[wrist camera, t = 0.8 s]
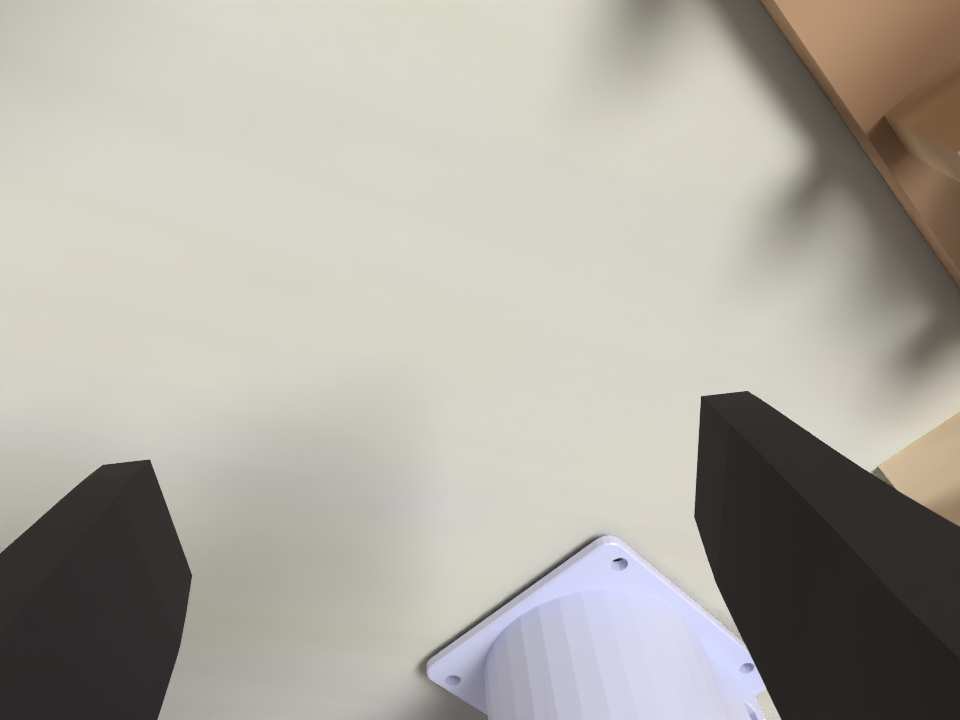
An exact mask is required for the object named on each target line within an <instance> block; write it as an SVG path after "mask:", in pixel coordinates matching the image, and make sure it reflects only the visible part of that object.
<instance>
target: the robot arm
mask: <svg viewBox="0 0 960 720" xmlns="http://www.w3.org/2000/svg"><path fill="white" fill-rule="evenodd" d="M694 517H695V520H696V523H697V527H698V530H699V533H700V536H701V539H702V542H703V545H704V549H705V552H706V555H707V558H708V561H709V564H710V566H711V569H712V572H713V575H714V578H715V581H716V584H717V586H718V588H719V590H720V592H721V595H722V597H723V599H724V601H725V603H726V605H727V607H728V610H729V612H730V614H731V616H732V618H733V620H734V622H735V624H736V626H737V628H738V631H739V633H740V635H741V637H742V639H743V641H744V642H742V641H741V640H740V639H739V638H738V637H736V636H735V635H734V634H733V633H732V632H730V631H729V630H728V629H727V628H726V627H724V626H723V625H722V624H721V623H720V622H718V621H717V620H716V619H715V618H714V617H712V616H711V615H710V614H709V613H708V612H706V611H705V610H704V609H703V608H702V607H701V606H699V605H698V604H697V603H696V602H695V601H693V600H692V599H691V598H690V597H689V596H687V595H686V594H685V593H684V592H683V591H681V590H680V589H679V588H678V587H677V586H675V585H674V584H673V583H672V582H671V581H669V580H668V579H667V578H666V577H665V576H663V575H662V574H661V573H660V572H659V571H657V570H656V569H655V568H654V567H653V566H651V565H650V564H649V563H648V562H647V561H645V560H644V559H643V558H642V557H641V556H639V555H638V554H637V553H636V552H635V551H633V550H632V549H631V548H630V547H629V546H627V545H626V544H625V543H624V542H623V541H622V540H620V539H619V538H617V537H615V536H609V535H608V536H602V537H600V538H598V539H596V540H595V541H593V542H592V543H591V544H589V545H588V546H586V547H585V548H584V549H582V550H581V551H580V552H578V553H577V554H575V555H574V556H573V557H571V558H570V559H568V560H567V561H566V562H564V563H563V564H561V565H560V566H559V567H557V568H556V569H554V570H553V571H552V572H550V573H549V574H548V575H546V576H545V577H543V578H542V579H541V580H539V581H538V582H536V583H535V584H534V585H532V586H531V587H529V588H528V589H527V590H525V591H524V592H522V593H521V594H520V595H518V596H517V597H515V598H514V599H513V600H511V601H510V602H509V603H507V604H506V605H504V606H503V607H502V608H500V609H499V610H497V611H496V612H495V613H493V614H492V615H490V616H489V617H488V618H486V619H485V620H483V621H482V622H481V623H479V624H478V625H476V626H475V627H474V628H472V629H471V630H470V631H468V632H467V633H465V634H464V635H463V636H461V637H460V638H458V639H457V640H456V641H454V642H453V643H451V644H450V645H449V646H447V647H446V648H444V649H443V650H442V651H440V652H439V653H438V654H436V655H435V656H433V657H432V658H431V659H430V660H429V661H428V662H427V665H426V671H427V677H428V678H429V679H430V680H431V681H433V682H434V683H436V684H438V685H439V686H441V687H442V688H444V689H446V690H447V691H449V692H450V693H452V694H454V695H455V696H457V697H458V698H460V699H462V700H463V701H465V702H466V703H468V704H470V705H471V706H473V707H474V708H476V709H478V710H479V711H481V712H483V713H484V714H486V715H487V716H488V720H766V718H765V716H764V714H763V711H762V709H761V706H760V704H759V702H758V699H757V697H756V695H758V694H759V693H761V692H763V691H764V690H766V689H767V691H768V693H769V695H770V697H771V699H772V701H773V703H774V705H775V707H776V709H777V711H778V713H779V715H780V718H781V720H960V526H958V525H956V524H954V523H953V522H951V521H949V520H947V519H946V518H944V517H942V516H940V515H939V514H937V513H935V512H934V511H932V510H930V509H928V508H927V507H925V506H923V505H921V504H920V503H918V502H916V501H915V500H913V499H911V498H909V497H908V496H906V495H904V494H903V493H901V492H899V491H898V490H896V489H895V488H893V487H891V486H890V485H888V484H887V483H885V482H883V481H882V480H880V479H879V478H877V477H875V476H874V475H872V474H871V473H869V472H868V471H866V470H864V469H863V468H861V467H860V466H858V465H857V464H855V463H854V462H852V461H851V460H849V459H848V458H846V457H845V456H843V455H842V454H840V453H839V452H837V451H836V450H834V449H833V448H831V447H830V446H828V445H827V444H825V443H824V442H822V441H821V440H819V439H818V438H816V437H815V436H813V435H812V434H811V433H809V432H808V431H806V430H805V429H803V428H802V427H800V426H799V425H797V424H796V423H795V422H793V421H792V420H790V419H789V418H787V417H786V416H784V415H783V414H781V413H780V412H779V411H777V410H776V409H774V408H773V407H771V406H770V405H768V404H767V403H765V402H764V401H762V400H761V399H759V398H758V397H756V396H754V395H753V394H751V393H750V392H748V391H744V392H735V393H726V394H718V395H709V396H701V408H700V426H699V443H698V461H697V478H696V496H695V514H694ZM617 558H623V559H622V560H620V561H613V560H615V559H617ZM191 579H192V574H191V571H190V568H189V566H188V563H187V560H186V557H185V555H184V552H183V549H182V546H181V544H180V541H179V538H178V535H177V533H176V530H175V527H174V524H173V522H172V519H171V516H170V513H169V511H168V508H167V505H166V502H165V500H164V497H163V494H162V491H161V489H160V486H159V483H158V480H157V478H156V475H155V472H154V469H153V467H152V464H151V461H150V460H142V461H133V462H124V463H116V464H107V465H102V466H101V467H100V468H98V469H97V470H96V471H94V472H93V473H92V474H91V475H89V476H88V477H87V478H86V479H84V480H83V481H82V482H81V483H80V484H79V485H77V486H76V487H75V488H74V489H73V490H72V491H70V492H69V493H68V494H67V495H66V496H65V497H64V498H62V499H61V500H60V501H59V502H58V503H57V504H56V505H54V506H53V507H52V508H51V509H50V510H49V511H48V512H47V513H45V514H44V515H43V516H42V517H41V518H40V519H39V520H38V521H37V522H35V523H34V524H33V525H32V526H31V527H30V528H29V529H28V530H26V531H25V532H24V533H23V534H22V535H21V536H20V537H18V538H17V539H16V540H15V541H14V542H13V543H12V544H10V545H9V546H8V547H7V548H6V549H5V550H4V551H3V552H1V553H0V720H157V719H158V716H159V713H160V710H161V707H162V703H163V700H164V697H165V694H166V690H167V687H168V684H169V681H170V678H171V674H172V671H173V668H174V665H175V661H176V658H177V655H178V651H179V648H180V643H181V638H182V633H183V627H184V622H185V617H186V611H187V605H188V598H189V592H190V585H191ZM453 675H455V676H453Z"/></svg>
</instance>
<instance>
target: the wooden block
mask: <svg viewBox="0 0 960 720" xmlns="http://www.w3.org/2000/svg"><path fill="white" fill-rule="evenodd" d="M878 467H879V468H880V470H881V471H882V472H883V473H884V475H885V476H886V477H887V478H888V480H889V481H890V482H891V483H892V485H893V486H894V487H895V488H896V490H898V491H899V492H901V493H903V494H904V495H906V496H908V497H909V498H911V499H913V500H915V501H916V502H918V503H920V504H921V505H923V506H925V507H927V508H928V509H930V510H932V511H934V512H935V513H937V514H939V515H940V516H942V517H944V518H946V519H947V520H949V521H951V522H953V523H954V524H956V525H958V526H960V412H959V413H957V414H956V415H954V416H953V417H951V418H950V419H948V420H947V421H945V422H944V423H942V424H941V425H939V426H938V427H936V428H935V429H933V430H932V431H930V432H929V433H927V434H926V435H924V436H923V437H921V438H920V439H918V440H917V441H915V442H914V443H912V444H911V445H909V446H908V447H906V448H905V449H903V450H902V451H900V452H899V453H897V454H896V455H894V456H893V457H891V458H890V459H888V460H886V461H885V462H883V463H882V464H880V465H879V466H878Z"/></svg>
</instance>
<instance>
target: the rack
mask: <svg viewBox="0 0 960 720" xmlns="http://www.w3.org/2000/svg"><path fill="white" fill-rule="evenodd" d="M760 1H761V2H762V4H763V5H764V7H765V8H766V10H767V11H768V13H769V14H770V15H771V17H772V18H773V20H774V21H775V23H776V24H777V26H778V27H779V28H780V30H781V31H782V33H783V34H784V36H785V37H786V39H787V40H788V41H789V43H790V44H791V46H792V47H793V49H794V50H795V52H796V53H797V54H798V56H799V57H800V59H801V60H802V62H803V63H804V65H805V66H806V67H807V69H808V70H809V72H810V73H811V75H812V76H813V78H814V79H815V80H816V82H817V83H818V85H819V86H820V88H821V89H822V91H823V92H824V93H825V95H826V96H827V98H828V99H829V101H830V102H831V104H832V105H833V106H834V108H835V109H836V111H837V112H838V114H839V115H840V117H841V118H842V119H843V121H844V122H845V124H846V125H847V127H848V128H849V130H850V131H851V132H852V134H853V135H854V137H855V138H856V140H857V141H858V143H859V144H860V145H861V147H862V148H863V150H864V151H865V153H866V154H867V156H868V157H869V158H870V160H871V161H872V163H873V164H874V166H875V167H876V169H877V170H878V171H879V173H880V174H881V176H882V177H883V179H884V180H885V182H886V183H887V184H888V186H889V187H890V189H891V190H892V192H893V193H894V195H895V196H896V197H897V199H898V200H899V202H900V203H901V205H902V206H903V208H904V209H905V210H906V212H907V213H908V215H909V216H910V218H911V219H912V221H913V222H914V223H915V225H916V226H917V228H918V229H919V231H920V232H921V234H922V235H923V236H924V238H925V239H926V241H927V242H928V244H929V245H930V247H931V248H932V249H933V251H934V252H935V254H936V255H937V257H938V258H939V260H940V261H941V262H942V264H943V265H944V267H945V268H946V270H947V271H948V273H949V274H950V275H951V277H952V278H953V280H954V281H955V283H956V284H957V286H958V287H959V288H960V0H760Z"/></svg>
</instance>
